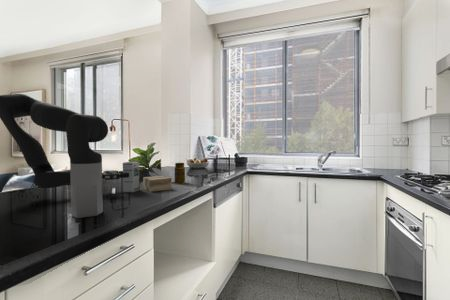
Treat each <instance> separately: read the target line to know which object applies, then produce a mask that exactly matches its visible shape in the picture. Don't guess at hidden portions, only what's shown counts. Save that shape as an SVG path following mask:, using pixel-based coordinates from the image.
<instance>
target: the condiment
mask: <svg viewBox="0 0 450 300" xmlns="http://www.w3.org/2000/svg"><path fill="white" fill-rule="evenodd" d="M184 184H187V181H186V167H185V163H184V162H175V164H174V181H171V185H184Z"/></svg>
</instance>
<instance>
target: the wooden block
mask: <svg viewBox="0 0 450 300" xmlns="http://www.w3.org/2000/svg"><path fill="white" fill-rule="evenodd" d="M171 182H172V177H169V176H165V175H155V176H153V175H152V176H143V177H142V186H143V187H142V189H144V190H146V191H148V192H151V193H152V192H159V191H160V192H161V191H167V190H172V184H171Z"/></svg>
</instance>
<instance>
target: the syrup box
mask: <svg viewBox="0 0 450 300" xmlns="http://www.w3.org/2000/svg"><path fill="white" fill-rule="evenodd" d="M122 171H123V173H129V177H128V178H122V189H123V192H124V193H135V192H138V191H140V190H141V179H140V178H141V177H140V176H141V175H140V173H141V171H140V161H137V160H136V161H135V160H134V161H127V162H123V163H122Z"/></svg>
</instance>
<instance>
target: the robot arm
mask: <svg viewBox="0 0 450 300" xmlns="http://www.w3.org/2000/svg"><path fill="white" fill-rule="evenodd" d="M24 117H30V119H31V121H32V122H33V123H34V124H35V125H36V126H39V127H42V128H44V129H47V130H50V131H55V132H62V133H65V134H66V144H67V146H66V147H67V155H68V157H69V169H65V170H60V171H55V170H54V168H53V167H52V165H51V163H50V161H49V160H48V157H47V155H46V151H45V150H44V147H43V145H42V144H41V142H40V141H38V140H37V139H36V138H35V137H33V136H32V135H31V134H29V133H28V132H27V131H25V130H24V128H22V127H21V126H20V125H19V124H18V122H17V120H16V119H17V118H24ZM0 120H1V121H2V123H3V125H4V127H5V128H6V129H7V131H8V133H9V134H10V135H11V136H12V138H13V139H14V141H15V143H16V144H17V145H18V148H19V149H20V151H21V154H22V157H23V158H24V160H25V162H26V164H27V166H28V167H29V168H31V170H32V172H33V174H34V178H33V184H34V185H35V186H36V188H39V189H51V188H52V189H54V188H59V187H64V186H70V209H71V210H70V213H71V215H70V216H71V217H72V218H75V219H82V218H87V217H88V218H89V217H96V216H97V217H98V216H99V215H101V214H102V213H103V212H104V211H103V210H104V208H103V207H104V204H103V203H104V202H103V199H104V198H103V179H104V181H110V180H120V179H123V178H128V177H129V173H123V170H116V169H115V170H104V171H103V156H102V154H101V153H99V152H98V151H97V152H96V151H95V150H93V149H92V148H91V146H90V143H97V142H101V141H103V140H104V139H106V138H107V136H108V134H109V126H108V124H107V121H105V120H104V119H103V118H102V117H100V116H98V115H93V114H83V113H78V112H76V111H73V110H72V109H68V108H65V107H62V106H60V105H56V104H53V103H50V102H46V101H42V100H38V99H35V98H34V97H31V96H30V95H27V94H24V93H11V94H10V93H9V94H0Z"/></svg>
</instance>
